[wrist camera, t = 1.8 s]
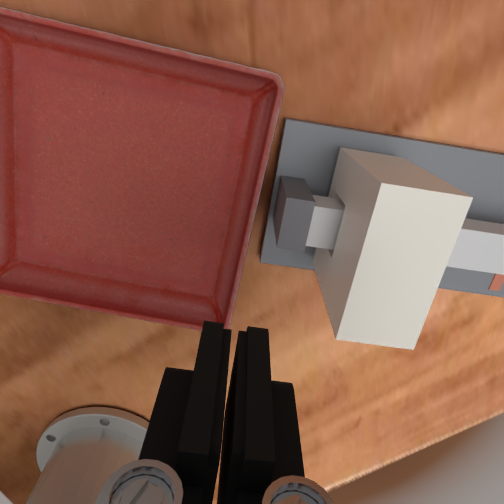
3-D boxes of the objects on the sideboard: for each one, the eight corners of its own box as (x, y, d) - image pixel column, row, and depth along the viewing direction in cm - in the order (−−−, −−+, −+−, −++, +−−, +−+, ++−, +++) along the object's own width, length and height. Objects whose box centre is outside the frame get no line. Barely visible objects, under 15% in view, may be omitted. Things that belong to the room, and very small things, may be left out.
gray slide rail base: (549, 297, 32) (616, 348, 26) (259, 255, 30) (261, 299, 24) (615, 172, 28) (712, 198, 22) (284, 117, 26) (293, 130, 20)
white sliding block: (368, 270, 28) (413, 349, 20) (312, 262, 28) (335, 339, 20) (403, 157, 25) (473, 197, 17) (340, 147, 25) (381, 182, 17)
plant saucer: (-9, 4, 24) (-47, -5, 21) (284, 74, 26) (288, 74, 23) (2, 269, 31) (-25, 290, 28) (230, 312, 33) (228, 336, 30)
